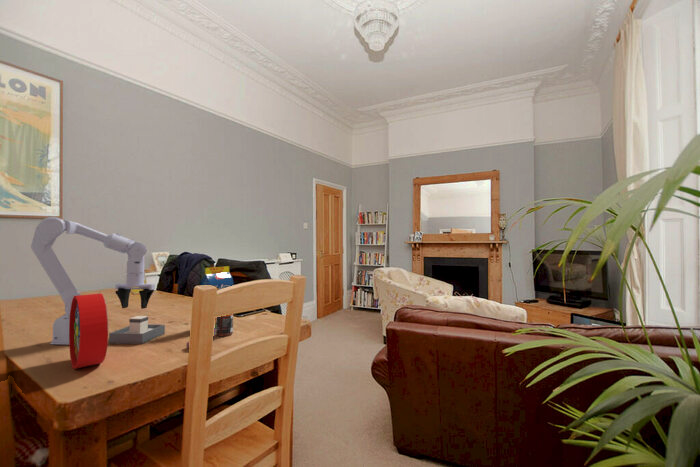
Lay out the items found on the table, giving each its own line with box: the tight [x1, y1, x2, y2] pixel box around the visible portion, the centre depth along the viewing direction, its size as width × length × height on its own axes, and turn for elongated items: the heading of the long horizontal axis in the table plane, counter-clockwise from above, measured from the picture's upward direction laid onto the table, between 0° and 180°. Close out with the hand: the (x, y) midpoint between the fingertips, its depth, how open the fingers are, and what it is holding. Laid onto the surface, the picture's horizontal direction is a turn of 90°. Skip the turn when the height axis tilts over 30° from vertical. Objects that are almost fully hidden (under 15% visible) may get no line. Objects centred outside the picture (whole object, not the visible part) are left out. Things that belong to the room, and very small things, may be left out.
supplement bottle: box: [215, 313, 234, 337], centre depth 119 cm, size 6×6×11 cm
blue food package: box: [199, 265, 235, 329], centre depth 130 cm, size 6×12×25 cm, turn 153°
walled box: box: [108, 323, 166, 345], centre depth 113 cm, size 12×12×4 cm
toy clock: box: [68, 292, 109, 370], centre depth 89 cm, size 20×6×20 cm, turn 48°
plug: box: [128, 315, 149, 333], centre depth 113 cm, size 4×4×7 cm
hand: (134, 308), depth 121 cm, fingers open, 7 cm apart
